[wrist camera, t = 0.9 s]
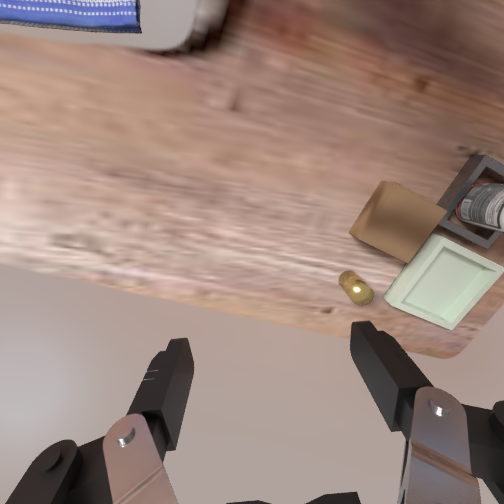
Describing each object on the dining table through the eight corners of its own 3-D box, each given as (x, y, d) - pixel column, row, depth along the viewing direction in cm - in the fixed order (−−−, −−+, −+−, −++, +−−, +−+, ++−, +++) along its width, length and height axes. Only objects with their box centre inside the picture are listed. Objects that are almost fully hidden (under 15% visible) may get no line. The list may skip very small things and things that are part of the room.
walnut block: (380, 180, 33) (397, 183, 29) (425, 205, 34) (447, 211, 30) (347, 231, 35) (360, 240, 32) (391, 253, 37) (407, 263, 33)
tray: (429, 232, 35) (443, 237, 33) (490, 261, 37) (506, 268, 35) (382, 297, 39) (391, 305, 37) (439, 320, 41) (451, 330, 39)
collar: (471, 155, 32) (486, 154, 30) (523, 185, 33) (540, 186, 31) (426, 219, 35) (436, 223, 33) (475, 244, 36) (487, 249, 34)
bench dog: (345, 267, 37) (359, 283, 32) (361, 274, 37) (378, 291, 33) (335, 283, 38) (347, 301, 33) (351, 290, 38) (365, 308, 34)
